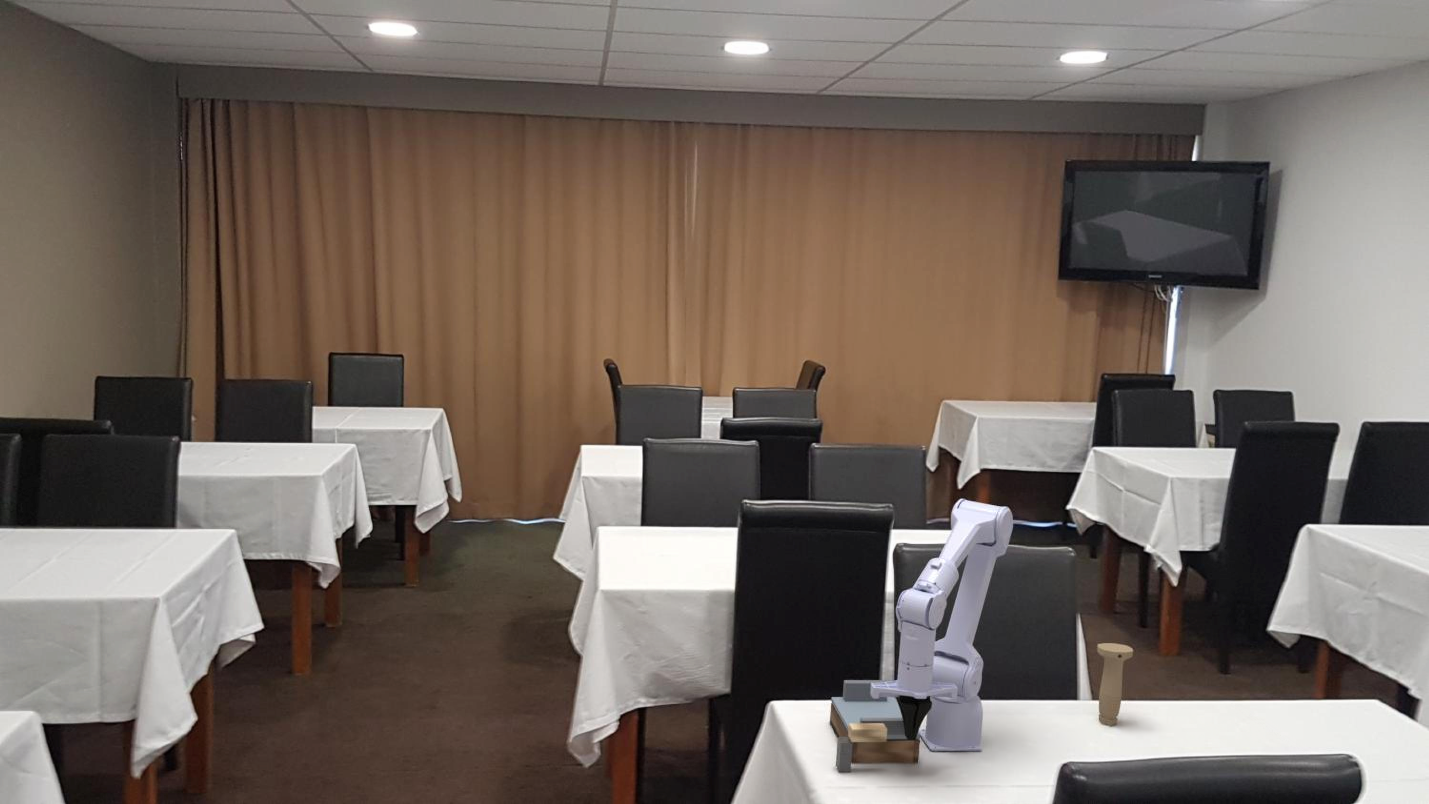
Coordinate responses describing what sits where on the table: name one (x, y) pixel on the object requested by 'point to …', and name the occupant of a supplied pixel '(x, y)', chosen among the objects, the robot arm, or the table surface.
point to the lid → (869, 708)
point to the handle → (1111, 680)
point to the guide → (844, 755)
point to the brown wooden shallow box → (877, 746)
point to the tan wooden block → (867, 732)
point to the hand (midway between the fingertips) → (910, 737)
